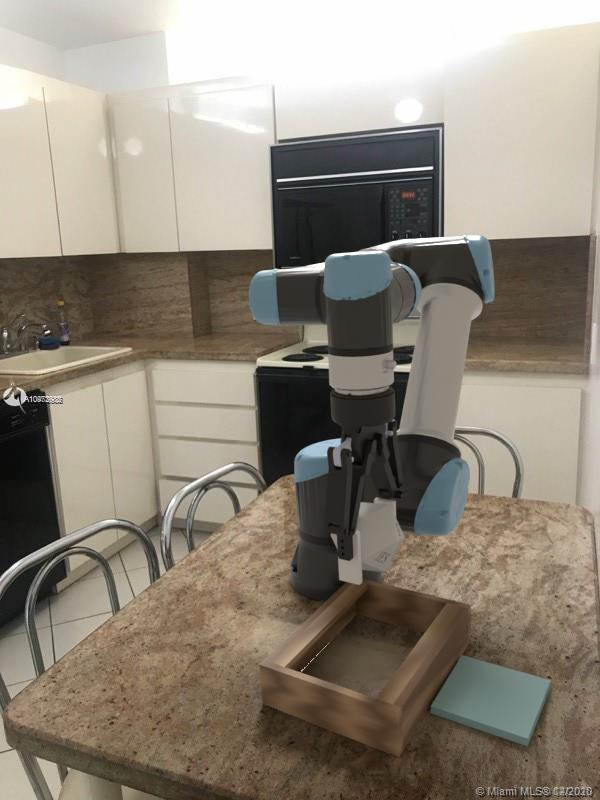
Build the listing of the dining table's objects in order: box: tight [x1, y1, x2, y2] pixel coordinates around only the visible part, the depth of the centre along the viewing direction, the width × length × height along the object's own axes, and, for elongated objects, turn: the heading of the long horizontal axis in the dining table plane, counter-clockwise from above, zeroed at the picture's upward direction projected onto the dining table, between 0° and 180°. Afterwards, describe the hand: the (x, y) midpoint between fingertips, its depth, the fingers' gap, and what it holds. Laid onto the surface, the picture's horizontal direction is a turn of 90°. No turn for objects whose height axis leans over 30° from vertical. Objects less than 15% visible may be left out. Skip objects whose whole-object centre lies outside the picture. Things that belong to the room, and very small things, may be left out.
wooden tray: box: [258, 579, 472, 758], centre depth 85 cm, size 18×24×6 cm
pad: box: [430, 654, 552, 747], centre depth 79 cm, size 11×11×1 cm
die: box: [331, 502, 406, 573], centre depth 82 cm, size 8×9×10 cm
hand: (369, 562), depth 82 cm, fingers closed on die, 9 cm apart
